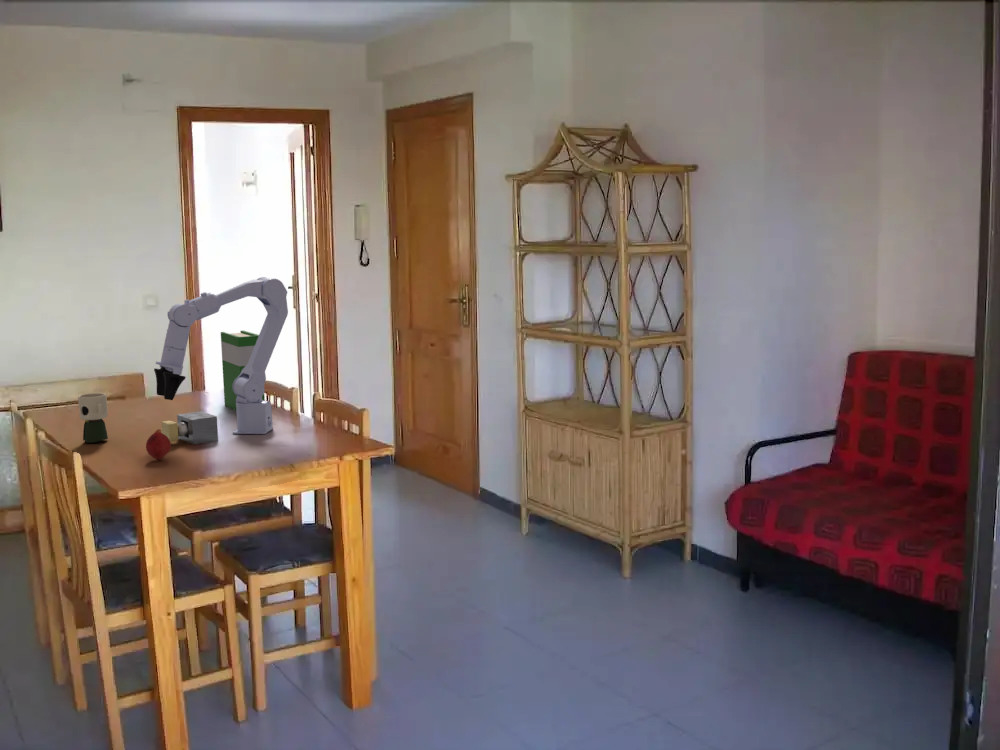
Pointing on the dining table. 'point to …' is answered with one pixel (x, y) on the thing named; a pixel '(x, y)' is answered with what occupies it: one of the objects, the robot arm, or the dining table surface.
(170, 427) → the end cover
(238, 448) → the dining table surface
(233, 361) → the hardback book
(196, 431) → the housing
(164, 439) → the onion
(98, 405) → the character mug
